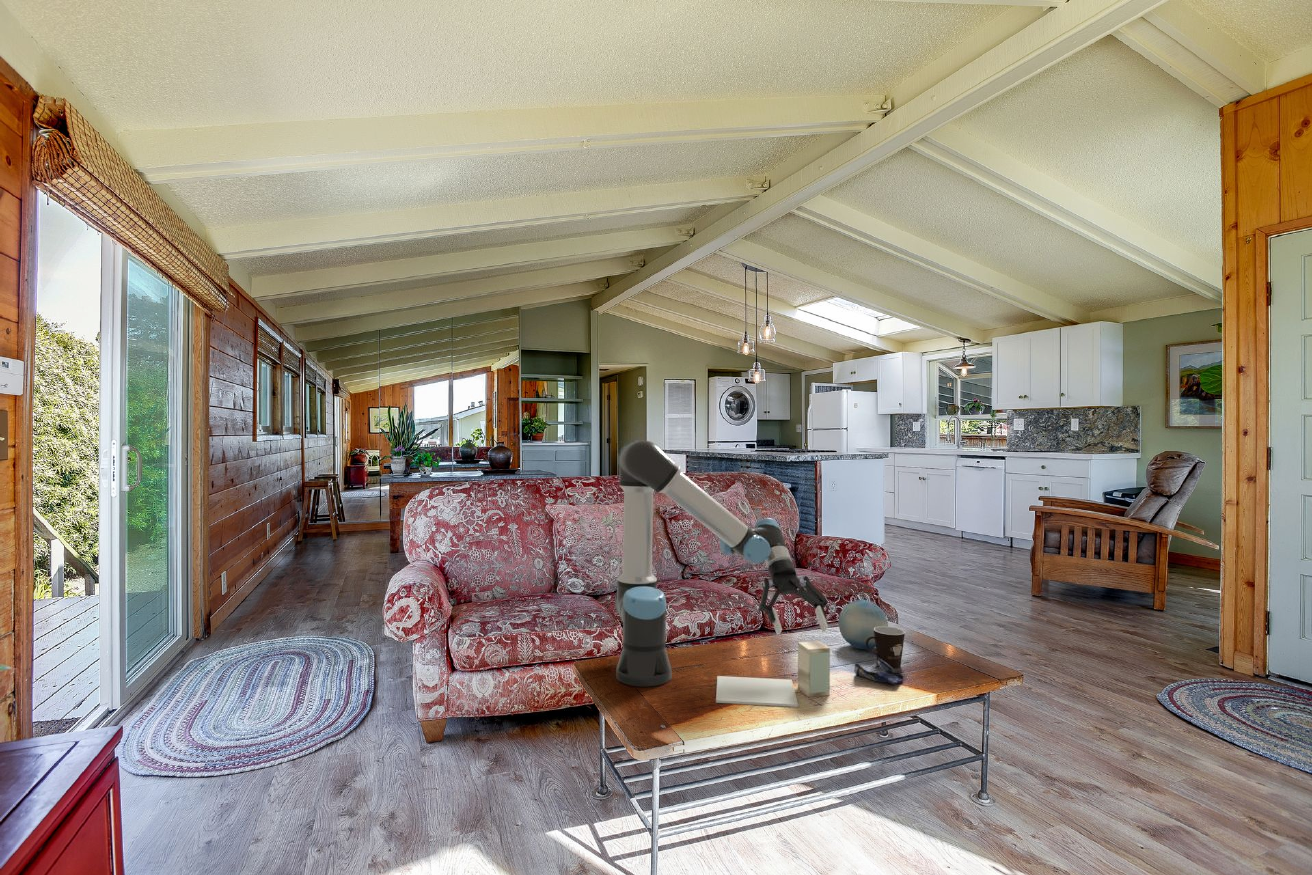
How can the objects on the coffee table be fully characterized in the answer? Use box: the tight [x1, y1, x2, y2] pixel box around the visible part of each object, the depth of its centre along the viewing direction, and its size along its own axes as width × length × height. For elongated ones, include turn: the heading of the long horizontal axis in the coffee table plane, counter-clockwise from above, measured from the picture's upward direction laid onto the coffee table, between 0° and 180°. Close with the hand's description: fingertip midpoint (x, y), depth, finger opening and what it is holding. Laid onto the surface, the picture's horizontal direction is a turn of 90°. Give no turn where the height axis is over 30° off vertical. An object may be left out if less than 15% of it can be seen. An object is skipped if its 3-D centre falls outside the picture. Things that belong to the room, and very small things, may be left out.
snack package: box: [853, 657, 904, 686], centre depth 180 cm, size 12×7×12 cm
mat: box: [715, 675, 799, 708], centre depth 170 cm, size 20×17×1 cm
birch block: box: [797, 640, 831, 697], centre depth 171 cm, size 6×6×12 cm
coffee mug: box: [866, 626, 906, 670], centre depth 192 cm, size 12×9×10 cm
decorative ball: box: [838, 599, 889, 650], centre depth 208 cm, size 15×15×15 cm
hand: (802, 630), depth 180 cm, fingers open, 13 cm apart
